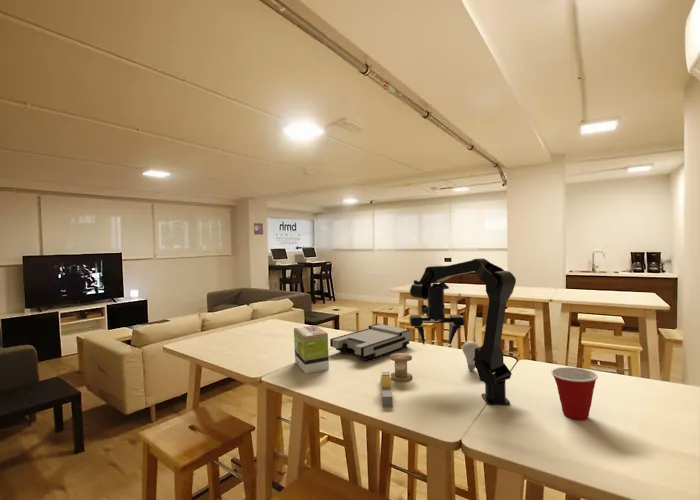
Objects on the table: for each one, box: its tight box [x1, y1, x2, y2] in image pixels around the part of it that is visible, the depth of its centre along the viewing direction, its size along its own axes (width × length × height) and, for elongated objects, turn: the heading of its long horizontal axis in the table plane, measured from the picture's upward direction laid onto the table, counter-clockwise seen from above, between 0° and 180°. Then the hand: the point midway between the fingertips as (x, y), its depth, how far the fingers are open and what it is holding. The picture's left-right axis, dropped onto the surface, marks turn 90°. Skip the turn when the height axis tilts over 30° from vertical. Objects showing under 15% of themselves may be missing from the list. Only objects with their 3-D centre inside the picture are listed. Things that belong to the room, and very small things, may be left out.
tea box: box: [293, 324, 330, 374], centre depth 138 cm, size 15×10×15 cm, turn 25°
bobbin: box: [389, 352, 413, 383], centre depth 124 cm, size 8×8×8 cm
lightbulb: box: [462, 340, 480, 371], centre depth 129 cm, size 6×6×11 cm
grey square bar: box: [381, 386, 394, 408], centre depth 111 cm, size 19×3×3 cm, turn 177°
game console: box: [329, 323, 412, 362], centre depth 157 cm, size 21×32×8 cm, turn 134°
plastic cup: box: [550, 366, 599, 421], centre depth 94 cm, size 11×11×12 cm
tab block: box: [380, 371, 392, 396], centre depth 111 cm, size 4×3×6 cm
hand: (436, 344), depth 123 cm, fingers open, 9 cm apart
